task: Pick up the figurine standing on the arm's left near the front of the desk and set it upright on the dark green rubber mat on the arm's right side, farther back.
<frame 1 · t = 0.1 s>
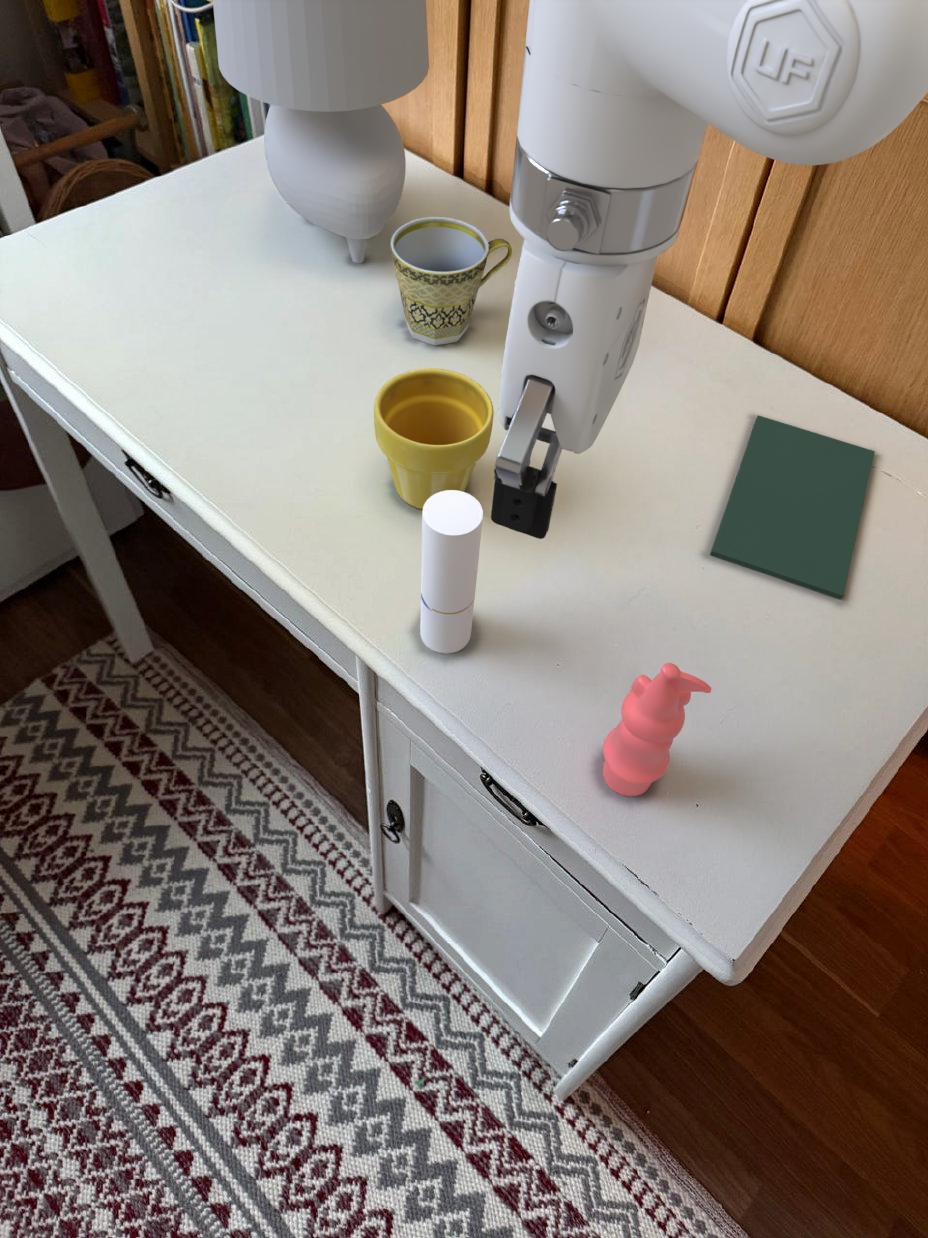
hand: (548, 469, 53), 25 cm above the table, tool pointing down, fingers open, 9 cm apart
flower pot: (431, 486, 86), on the table
mat: (795, 502, 87), on the table
tube: (445, 633, 76), on the table
table lamp: (338, 234, 109), on the table
ceramic cup: (449, 325, 100), on the table
figurine: (628, 773, 70), on the table
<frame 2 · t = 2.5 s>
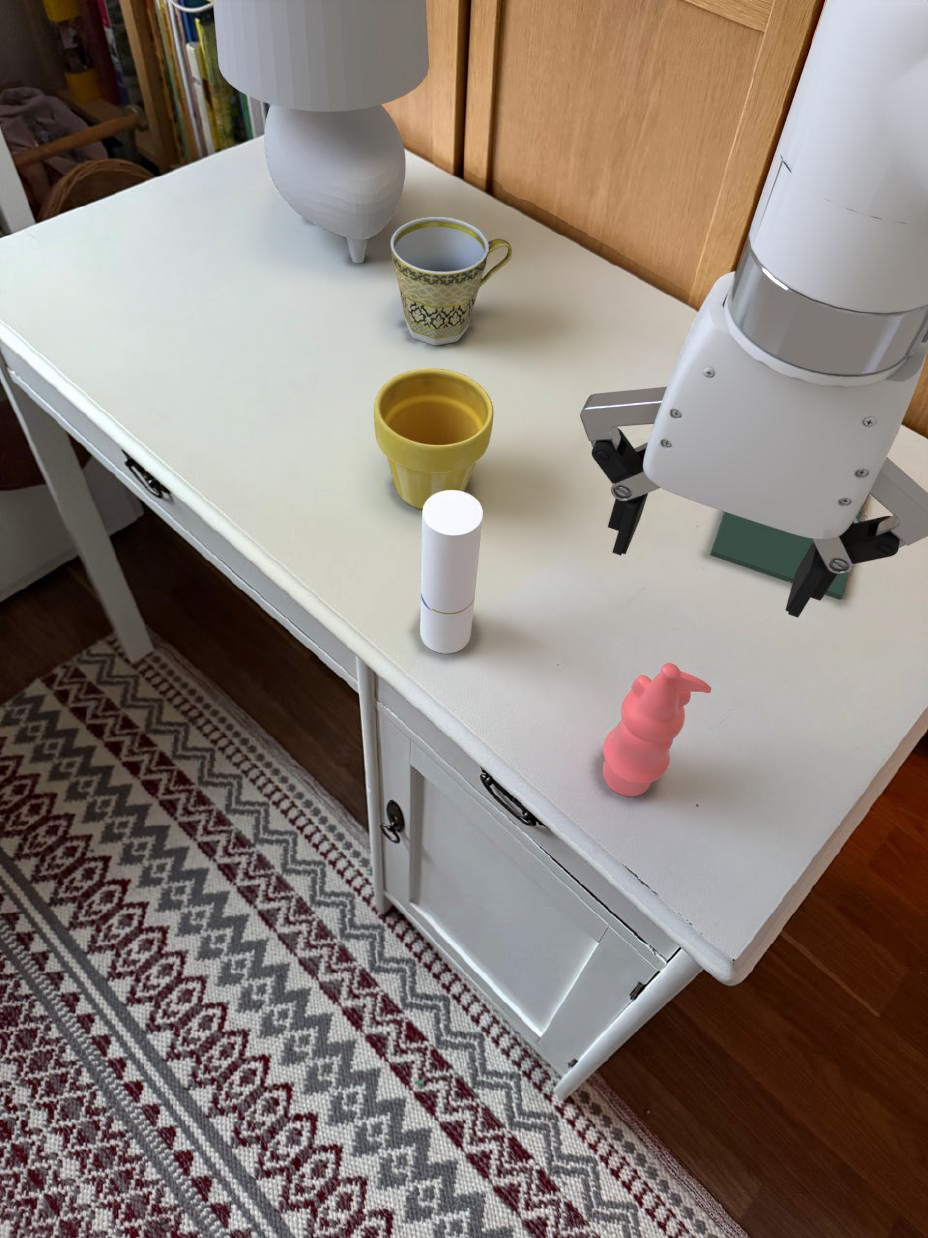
hand: (709, 566, 50), 25 cm above the table, tool pointing down, fingers open, 9 cm apart
nothing on the table moved.
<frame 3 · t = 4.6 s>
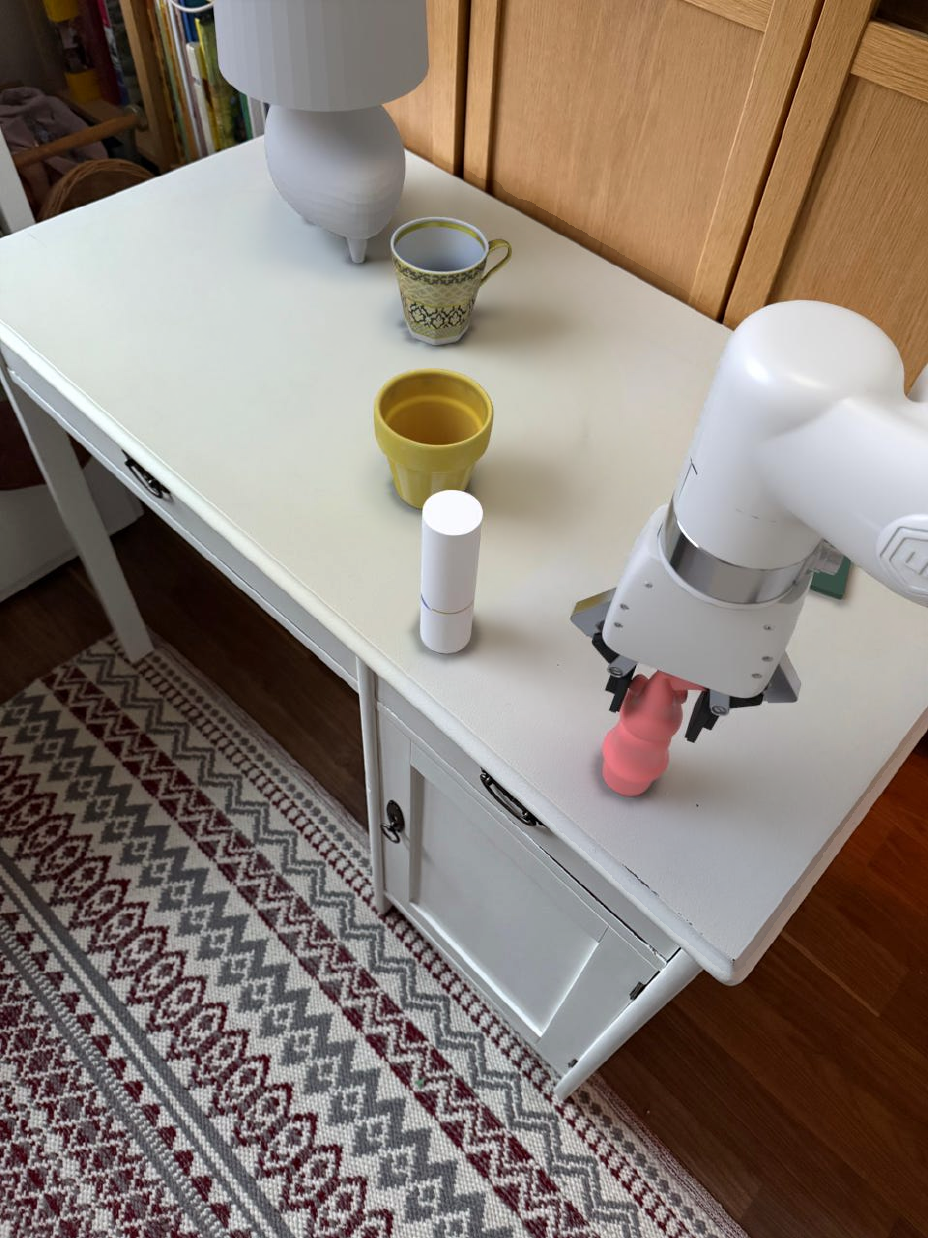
hand: (657, 708, 62), 10 cm above the table, tool pointing down, fingers closed on figurine, 4 cm apart
figurine: (628, 772, 70), on the table, touching gripper
everything else where it was.
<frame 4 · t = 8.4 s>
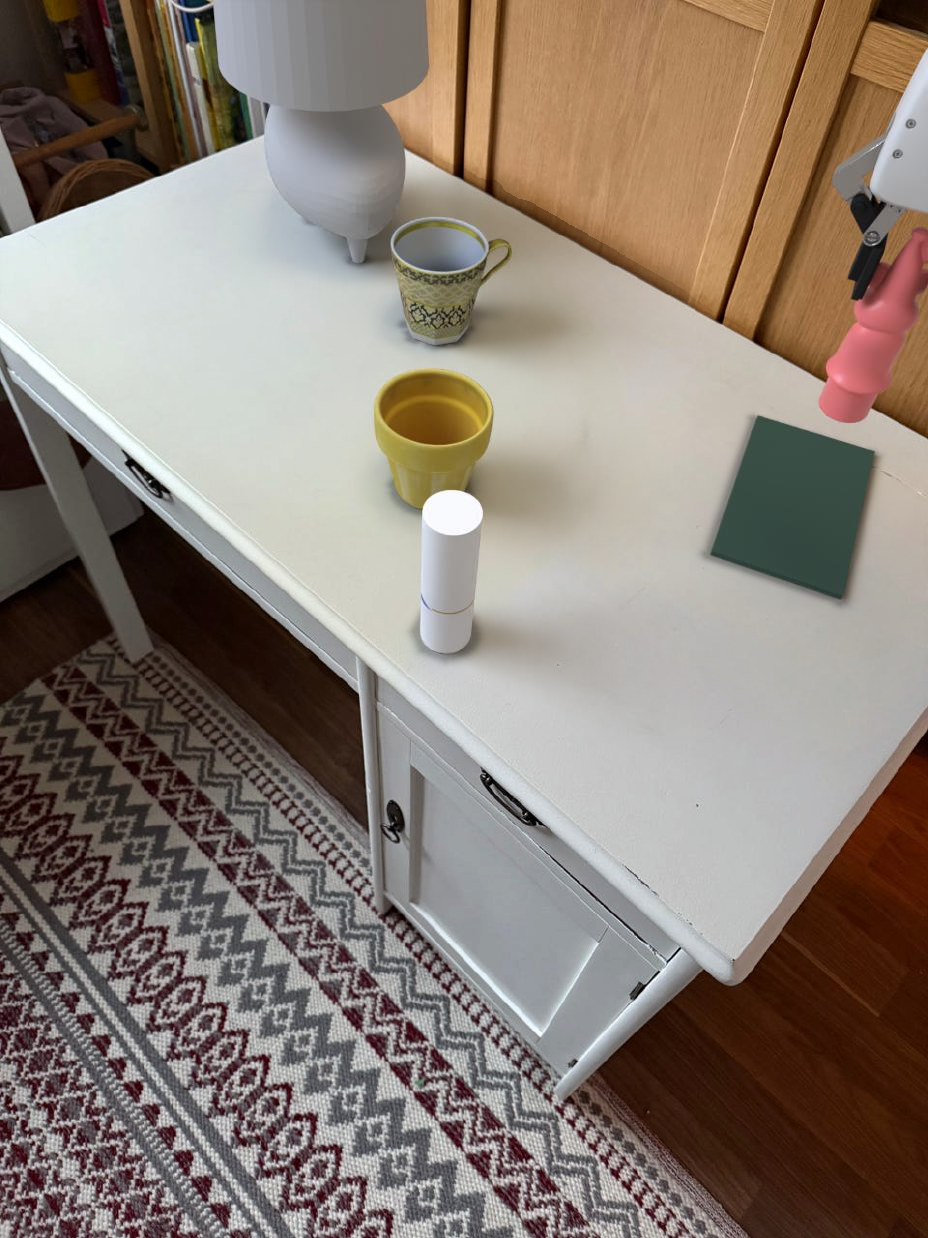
hand: (896, 297, 64), 25 cm above the table, tool pointing down, fingers closed on figurine, 4 cm apart
figurine: (843, 407, 72), point 15 cm above the table, touching gripper
everything else where it was.
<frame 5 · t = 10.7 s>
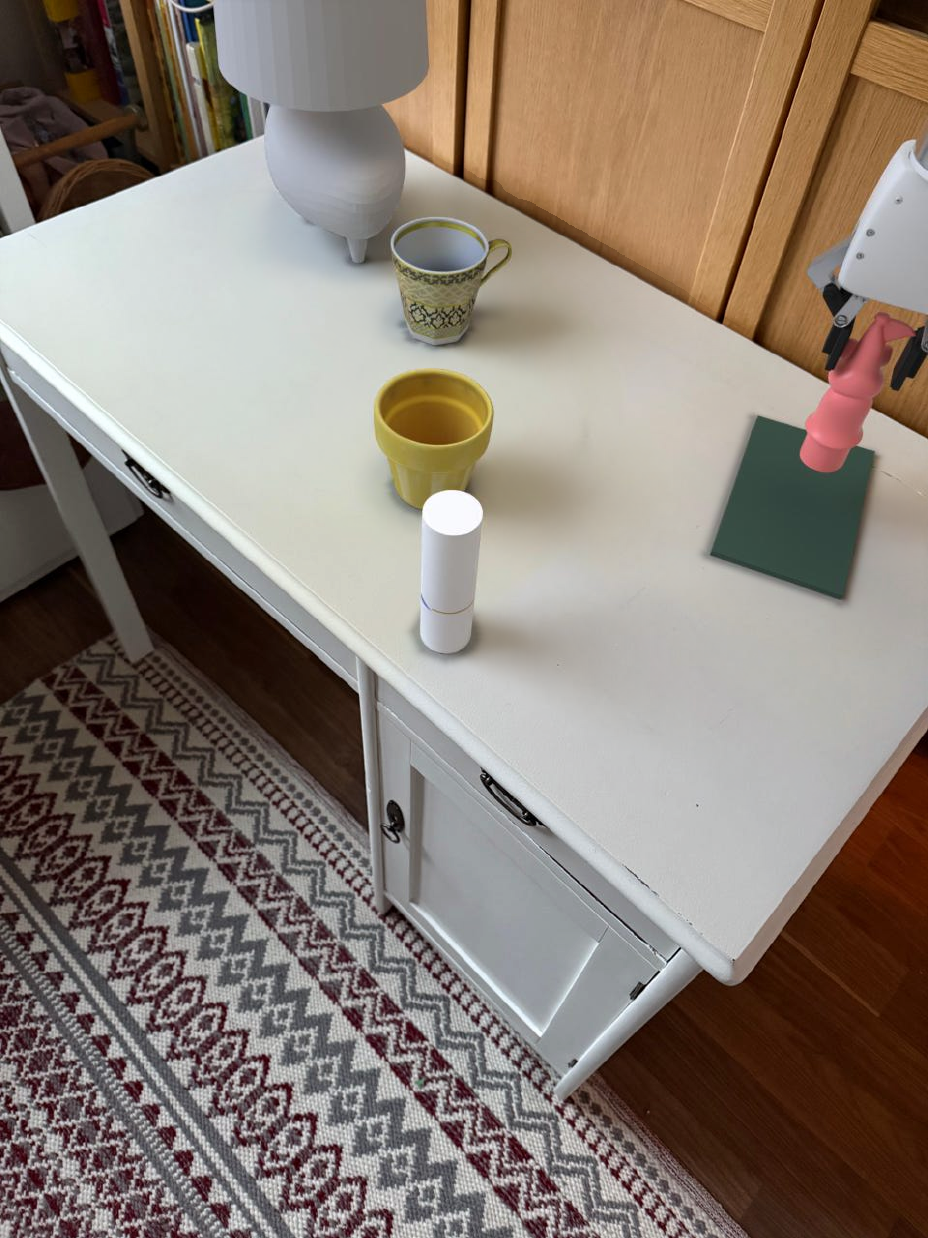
hand: (864, 368, 74), 16 cm above the table, tool pointing down, fingers closed on figurine, 4 cm apart
figurine: (822, 457, 82), point 6 cm above the table, touching gripper
everything else where it was.
when the fingers open (11 cm above the table, at t = 12.4 s): figurine stays where it is, resting on mat.
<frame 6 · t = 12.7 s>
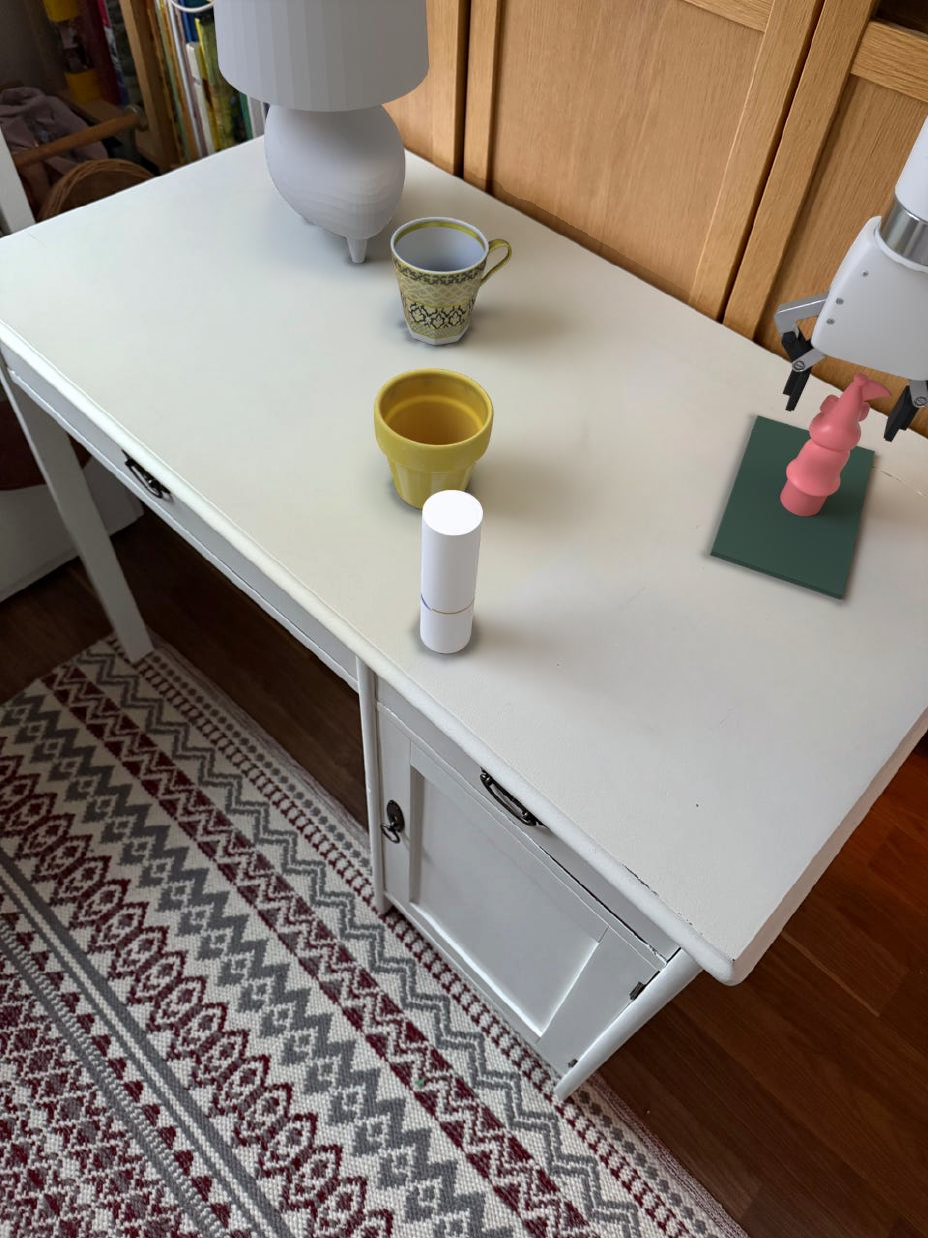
hand: (840, 415, 78), 11 cm above the table, tool pointing down, fingers open, 7 cm apart
figurine: (801, 501, 87), resting on mat
everything else where it was.
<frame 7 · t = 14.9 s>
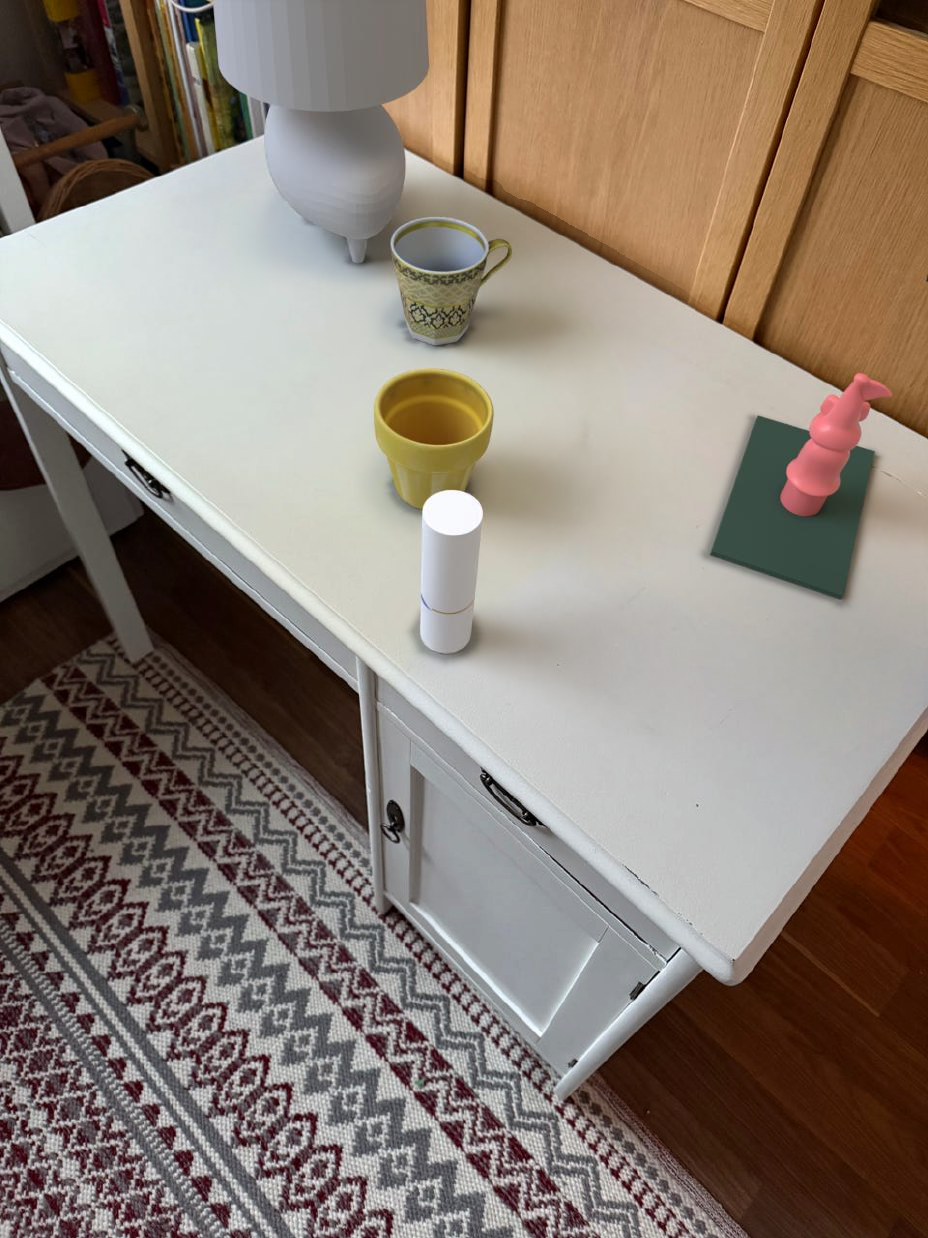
nothing on the table moved.
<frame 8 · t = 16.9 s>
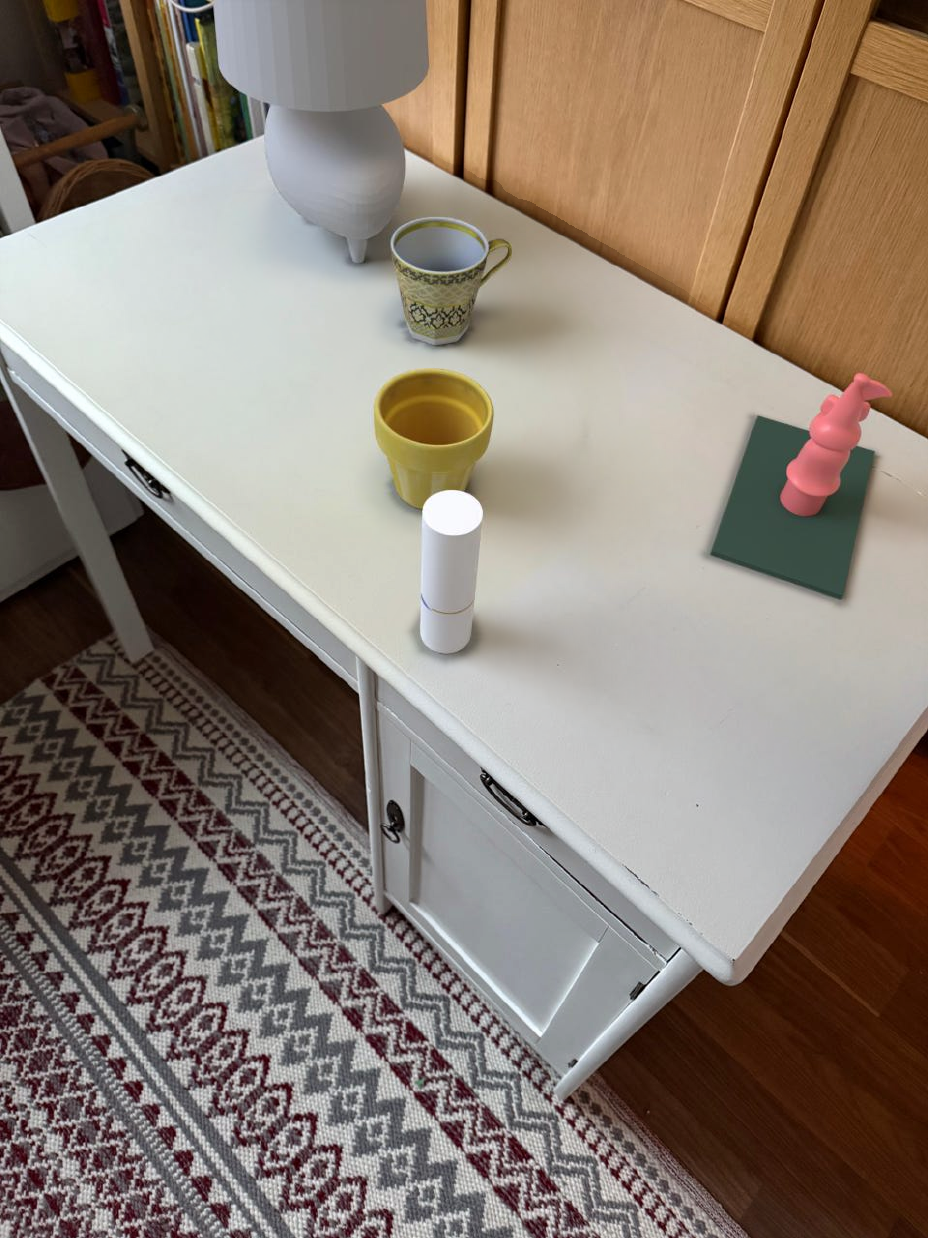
nothing on the table moved.
at the end: figurine inside the target area on the mat (0.4 cm from its centre), point 0.4 cm above the mat's base; figurine tilted 0°; the gripper is holding nothing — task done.
